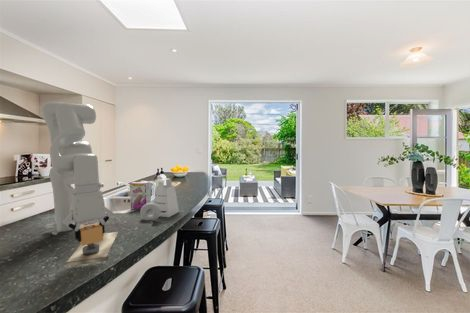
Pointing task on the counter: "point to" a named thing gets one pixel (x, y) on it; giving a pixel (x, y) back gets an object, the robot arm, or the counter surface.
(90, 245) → the metal peg
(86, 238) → the collar
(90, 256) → the board
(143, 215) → the donut
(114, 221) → the counter surface
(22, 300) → the counter surface
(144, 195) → the candy bar box
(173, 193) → the grater
